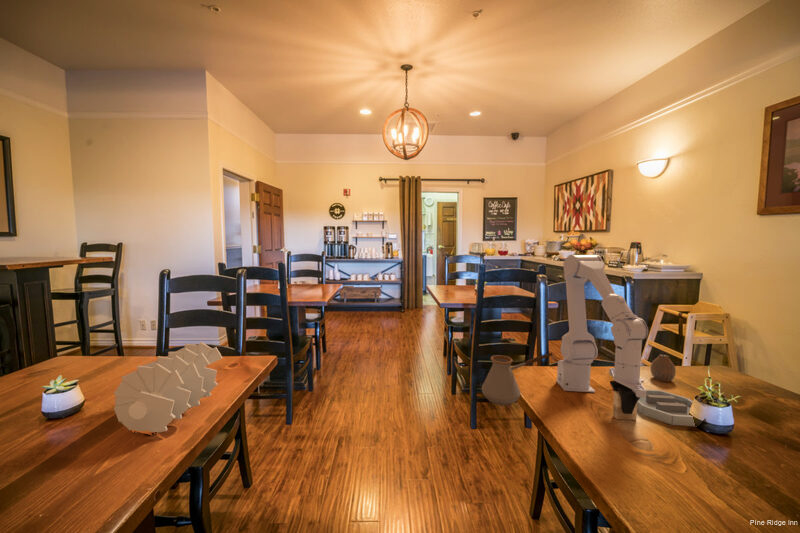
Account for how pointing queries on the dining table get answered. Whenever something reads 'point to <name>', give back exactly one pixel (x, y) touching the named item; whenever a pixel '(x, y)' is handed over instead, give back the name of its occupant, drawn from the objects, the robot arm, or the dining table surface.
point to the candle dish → (666, 415)
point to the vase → (663, 368)
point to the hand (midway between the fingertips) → (624, 410)
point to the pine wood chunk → (618, 409)
